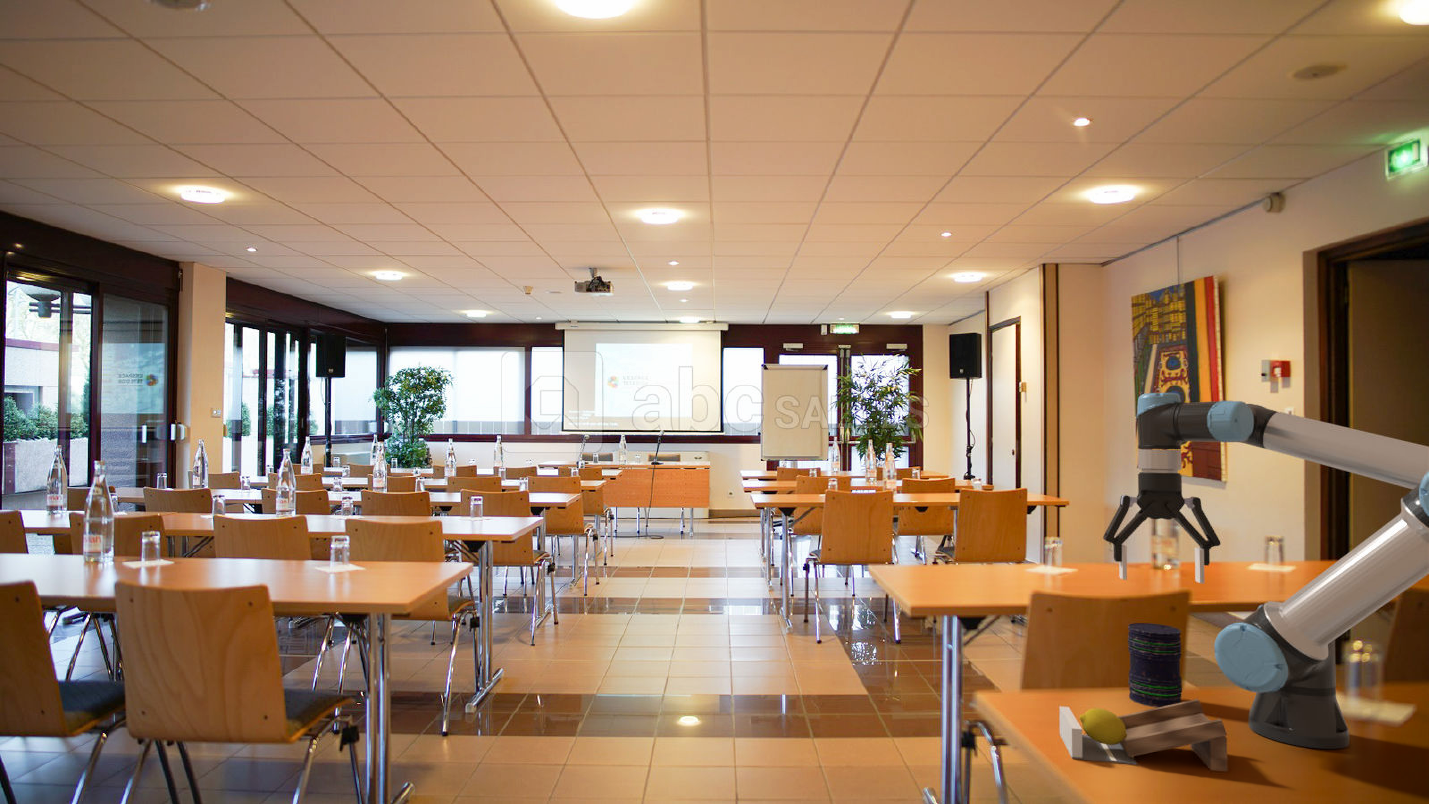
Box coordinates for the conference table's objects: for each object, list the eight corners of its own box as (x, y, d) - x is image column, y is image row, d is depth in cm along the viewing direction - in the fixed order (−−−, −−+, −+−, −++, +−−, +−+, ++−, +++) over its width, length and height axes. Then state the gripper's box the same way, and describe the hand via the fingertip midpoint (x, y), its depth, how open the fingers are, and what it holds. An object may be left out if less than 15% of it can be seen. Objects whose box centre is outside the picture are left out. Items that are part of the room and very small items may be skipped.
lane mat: (1119, 739, 146) (1119, 737, 146) (1137, 765, 135) (1137, 763, 135) (1059, 734, 149) (1059, 732, 149) (1072, 758, 137) (1072, 756, 137)
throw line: (1100, 737, 147) (1100, 736, 147) (1116, 762, 135) (1116, 760, 135) (1095, 737, 147) (1095, 735, 147) (1111, 762, 136) (1111, 760, 136)
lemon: (1079, 735, 138) (1127, 755, 137) (1089, 704, 139) (1137, 724, 137) (1070, 728, 144) (1116, 747, 142) (1080, 698, 144) (1126, 717, 143)
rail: (1069, 735, 148) (1068, 707, 149) (1082, 759, 137) (1082, 729, 137) (1059, 734, 149) (1059, 706, 149) (1072, 758, 137) (1071, 728, 137)
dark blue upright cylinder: (1163, 711, 163) (1162, 635, 163) (1118, 697, 171) (1117, 625, 172) (1192, 703, 168) (1191, 630, 168) (1147, 691, 176) (1146, 621, 177)
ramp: (1204, 747, 143) (1203, 699, 143) (1229, 773, 132) (1228, 721, 132) (1110, 739, 146) (1109, 692, 147) (1126, 763, 135) (1126, 712, 136)
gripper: (1223, 472, 160) (1225, 580, 159) (1087, 469, 166) (1088, 574, 165) (1238, 473, 153) (1240, 587, 152) (1095, 470, 159) (1096, 580, 158)
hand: (1161, 580), depth 159 cm, fingers open, 13 cm apart
